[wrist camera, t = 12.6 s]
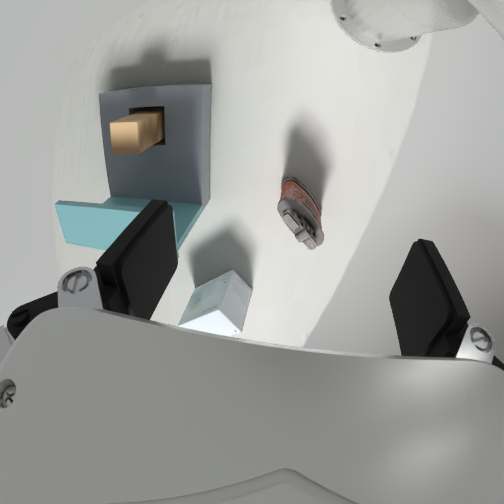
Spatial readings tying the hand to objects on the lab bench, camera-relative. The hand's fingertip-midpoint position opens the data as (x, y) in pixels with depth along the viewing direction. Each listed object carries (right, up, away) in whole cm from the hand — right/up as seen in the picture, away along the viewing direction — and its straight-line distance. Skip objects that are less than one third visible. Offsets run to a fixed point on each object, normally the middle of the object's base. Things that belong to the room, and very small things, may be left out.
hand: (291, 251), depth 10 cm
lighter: (+6, +8, +31) cm, 33 cm away
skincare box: (-7, -7, +45) cm, 46 cm away
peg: (-15, +19, +27) cm, 36 cm away
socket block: (-15, +17, +29) cm, 37 cm away
